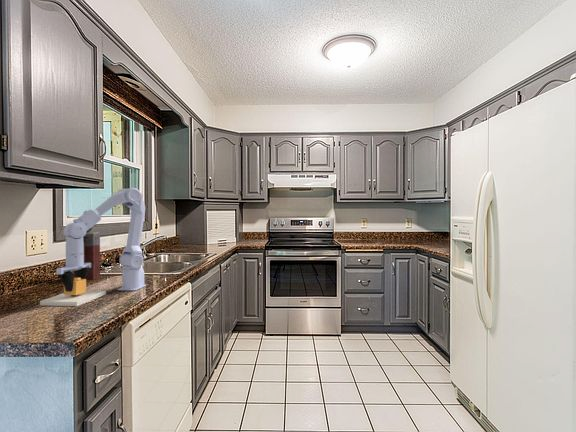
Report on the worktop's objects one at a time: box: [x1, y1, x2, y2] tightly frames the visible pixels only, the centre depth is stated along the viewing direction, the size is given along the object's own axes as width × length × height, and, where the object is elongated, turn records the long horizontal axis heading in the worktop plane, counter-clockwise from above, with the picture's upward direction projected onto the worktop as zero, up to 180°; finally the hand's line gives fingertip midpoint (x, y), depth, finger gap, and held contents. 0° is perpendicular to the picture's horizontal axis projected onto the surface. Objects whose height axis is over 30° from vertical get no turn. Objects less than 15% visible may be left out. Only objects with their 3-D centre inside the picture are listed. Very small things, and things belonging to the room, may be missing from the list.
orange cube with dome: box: [63, 277, 87, 295], centre depth 119 cm, size 5×5×6 cm
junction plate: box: [39, 289, 107, 307], centre depth 120 cm, size 16×14×5 cm
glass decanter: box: [73, 226, 101, 281], centre depth 157 cm, size 9×11×28 cm
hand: (74, 289), depth 119 cm, fingers closed on orange cube with dome, 5 cm apart
